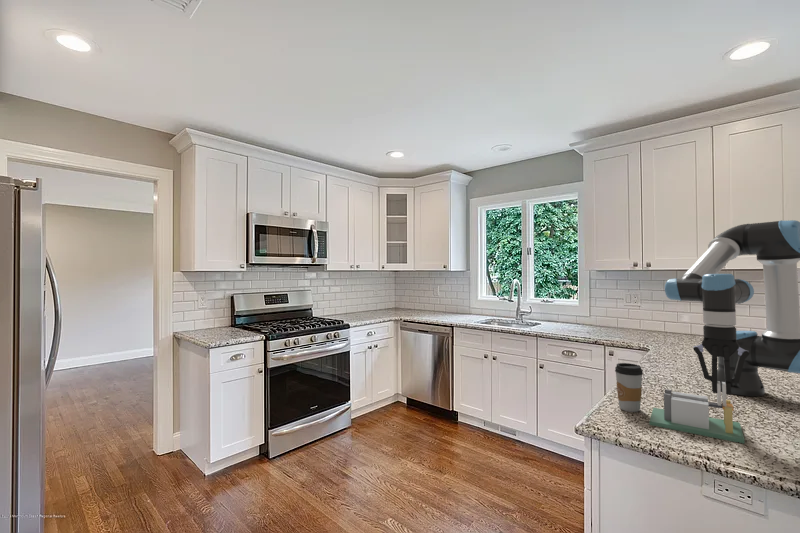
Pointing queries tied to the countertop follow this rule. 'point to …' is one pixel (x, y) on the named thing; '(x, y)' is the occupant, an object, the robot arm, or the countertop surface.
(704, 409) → the heatsink base
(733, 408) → the strap
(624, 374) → the coffee cup
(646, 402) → the countertop surface
